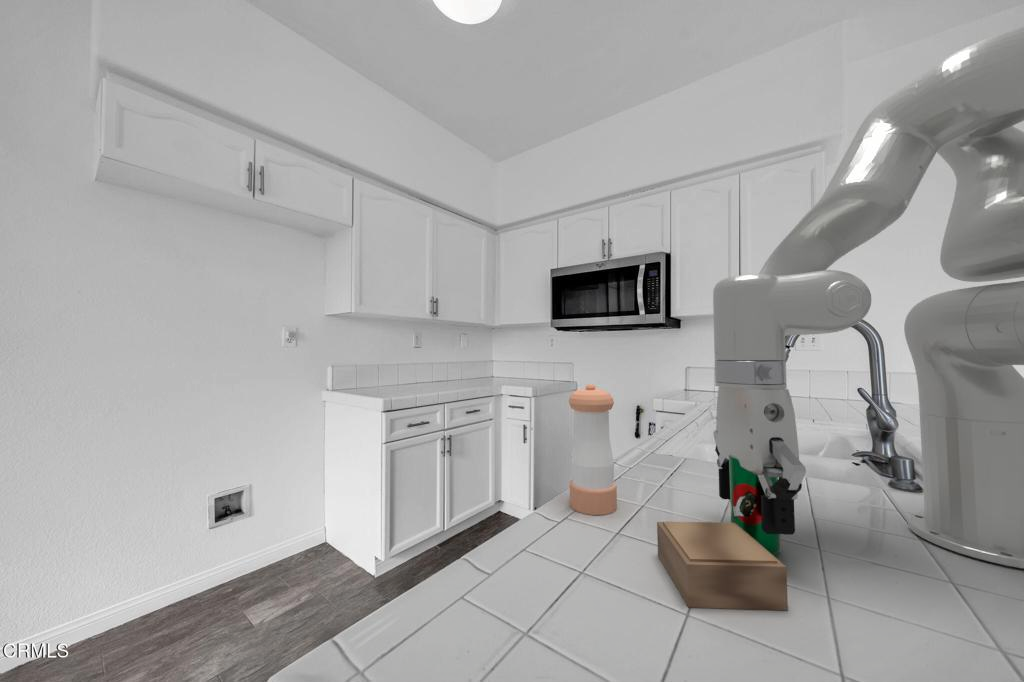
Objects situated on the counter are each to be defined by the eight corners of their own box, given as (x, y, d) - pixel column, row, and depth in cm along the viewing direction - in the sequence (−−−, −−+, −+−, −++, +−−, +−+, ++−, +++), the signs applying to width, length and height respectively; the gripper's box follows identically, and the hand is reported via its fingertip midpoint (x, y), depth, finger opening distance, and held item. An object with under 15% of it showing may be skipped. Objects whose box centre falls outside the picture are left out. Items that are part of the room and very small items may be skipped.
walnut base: (736, 557, 44) (735, 520, 44) (787, 610, 35) (786, 563, 35) (657, 555, 44) (656, 519, 44) (688, 607, 35) (687, 561, 35)
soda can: (789, 560, 43) (785, 455, 43) (741, 556, 44) (737, 453, 44) (768, 539, 48) (765, 444, 48) (725, 535, 49) (722, 443, 49)
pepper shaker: (616, 498, 62) (614, 382, 62) (617, 517, 55) (613, 386, 55) (572, 495, 64) (570, 382, 64) (567, 512, 57) (564, 386, 57)
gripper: (835, 380, 38) (841, 552, 37) (742, 371, 55) (745, 489, 54) (758, 380, 38) (763, 550, 38) (690, 371, 56) (692, 488, 55)
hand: (752, 514), depth 46 cm, fingers open, 9 cm apart
